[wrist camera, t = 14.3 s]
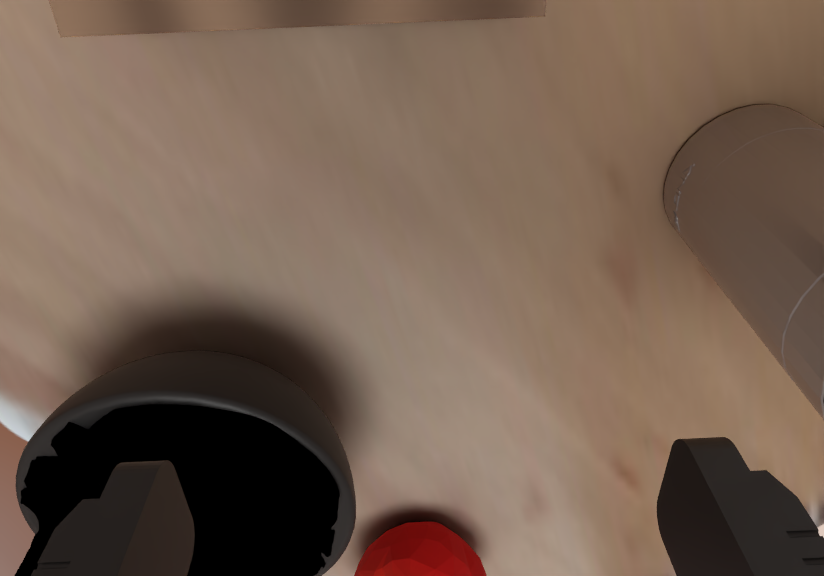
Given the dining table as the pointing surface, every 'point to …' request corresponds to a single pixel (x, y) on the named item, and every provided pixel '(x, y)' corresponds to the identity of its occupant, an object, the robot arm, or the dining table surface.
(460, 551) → the tomato
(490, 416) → the dining table surface
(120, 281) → the dining table surface
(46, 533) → the coal bowl
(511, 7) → the wall board
